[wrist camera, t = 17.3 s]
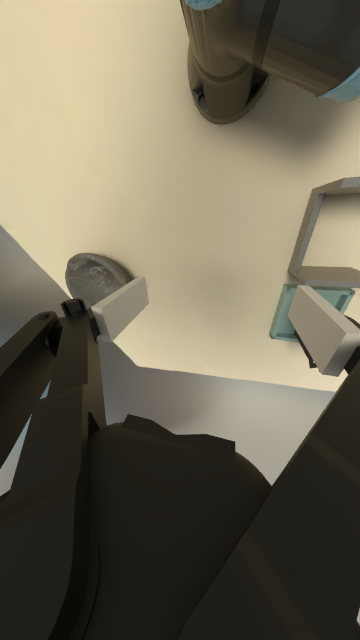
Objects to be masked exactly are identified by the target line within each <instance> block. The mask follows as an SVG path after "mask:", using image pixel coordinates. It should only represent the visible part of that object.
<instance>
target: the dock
mask: <svg viewBox="0 0 360 640" xmlns="http://www.w3.org/2000/svg"><path fill="white" fill-rule="evenodd" d="M352 193H360V177H351V178H343V179H340V180H337V181H334V182H331V183H328V184H326V185H323V186H320V187H317V188H314V189H312V193H311V196H310V199H309V203H308V206H307V209H306V213H305V216H304V219H303V223H302V226H301V229H300V232H299V236H298V239H297V242H296V246H295V249H294V252H293V256H292V259H291V262H290V265H289V269H288V271H289V272H290V273H291V274H292V275H293V276H295V277H296V278H297V279H298V280H299V281H300V282H301V283H302V284H303V285H309V286H326V287H346V288H360V271H358V270H356V269H353V268H350V267H312V266H301V265H302V262H303V259H304V256H305V253H306V250H307V247H308V244H309V241H310V238H311V235H312V232H313V229H314V226H315V223H316V220H317V217H318V214H319V211H320V208H321V205H322V202H323V199H324V197H325V195H335V194H352Z"/></svg>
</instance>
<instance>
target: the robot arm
mask: <svg viewBox="0 0 360 640" xmlns="http://www.w3.org/2000/svg"><path fill="white" fill-rule="evenodd" d="M180 3H181V7H182V11H183V15H184V19H185V23H186V27H187V31H188V35H189V39H190V40H189V49H188V77H189V84H190V88H191V92H192V95H193V98H194V101H195V104H196V106H197V108H198V109H199V111H200V112H201V114H202V115H203V116H204V117H205V118H206V119H208V120H209V121H211V122H214V123H217V124H226V123H230V122H233V121H235V120H237V119H239V118H240V117H242V116H243V115H244V114H246V113H247V112H248V111H249V110H250V109H251V108H252V106H253V105H254V104H255V103H256V101H257V100H258V99H259V97H260V95H261V94H262V92H263V90H264V88H265V86H266V84H267V82H268V80H269V77H270V75H271V74H272V75H274V76H276V77H279V78H281V79H283V80H285V81H287V82H290V83H292V84H294V85H296V86H299V87H301V88H303V89H305V90H307V91H310V92H312V93H314V95H315V97H317V98H328V99H331V100H334V101H337V102H340V103H343V102H349V101H352V100H354V99H356V98H358V97H359V96H360V0H180ZM147 304H148V295H147V288H146V281H145V277H137V278H136V279H134V280H132V281H131V282H129V283H128V284H126V285H125V286H123V287H122V288H120V289H118V290H117V291H115V292H114V293H112V294H111V295H109V296H108V297H106V298H105V299H103V300H101V301H100V302H98V303H97V304H95V305H94V306H92V307H91V308H89V309H86V306H85V303H84V301H83V299H81V298H76V299H70V300H67V301H64V302H63V303H61V307H62V309H63V311H64V313H65V317H62V318H58V316H57V314H56V313H55V312H53V311H49V312H43V313H40V314H38V315H36V316H34V317H33V318H32V319H31V320H30V321H29V322H28V323H27V324H25V325H24V326H23V327H22V328H21V329H20V330H19V331H18V332H17V333H16V334H15V335H14V336H12V337H11V338H10V339H9V340H8V341H7V342H6V343H5V344H4V345H2V346H1V347H0V468H1V467H2V465H3V464H4V462H5V460H6V459H7V457H8V455H9V454H10V452H11V450H12V448H13V447H14V445H15V443H16V441H17V439H18V437H19V436H20V434H21V432H22V430H23V428H24V427H25V425H26V423H27V421H28V419H29V418H30V416H31V414H32V416H31V419H30V423H29V426H28V430H27V434H26V436H25V440H24V444H23V447H22V451H21V454H20V457H19V461H18V464H17V468H16V471H15V475H14V478H13V482H12V485H11V489H10V490H9V491H7V492H6V493H5V494H3V495H2V496H0V640H360V625H359V623H358V622H357V616H358V612H359V608H360V324H359V323H358V322H356V321H355V320H354V319H352V318H350V317H348V316H346V315H343V314H341V313H340V312H339V311H338V310H337V309H336V308H335V307H333V306H332V305H331V304H330V303H329V302H328V301H326V300H325V299H324V298H323V297H322V296H321V295H319V294H318V293H317V292H316V291H315V290H314V289H312V288H311V287H310V286H309V285H298V286H297V289H296V292H295V294H294V297H293V300H292V303H291V306H290V309H289V312H288V315H287V316H288V317H289V319H290V321H291V323H292V324H293V326H294V328H295V329H296V331H297V333H298V335H299V336H300V338H301V340H302V341H303V343H304V345H305V347H306V348H307V350H308V352H309V353H310V355H311V357H312V358H313V360H314V362H315V364H316V365H317V367H318V369H319V370H320V372H321V374H324V375H330V376H337V377H338V376H339V375H340V373H341V372H342V371H343V369H345V370H346V372H347V373H348V374H349V375H348V376H347V377H346V379H345V380H344V382H343V383H342V384H341V386H340V387H339V389H338V391H337V392H336V394H335V395H334V396H333V398H332V399H331V401H330V402H329V404H328V405H327V407H326V408H325V410H324V411H323V412H322V414H321V415H320V417H319V418H318V420H317V421H316V423H315V424H314V426H313V427H312V429H311V430H310V431H309V433H308V435H307V436H306V438H305V439H304V440H303V442H302V443H301V445H300V446H299V448H298V449H297V451H296V452H295V454H294V455H293V456H292V458H291V460H290V461H289V462H288V464H287V465H286V467H285V468H284V470H283V471H282V472H281V474H280V475H279V477H278V478H277V479H276V481H275V482H274V484H273V485H272V486H271V485H270V483H269V482H268V481H267V480H266V479H265V477H264V476H263V474H262V473H261V472H259V470H258V469H257V468H256V467H255V466H254V465H253V464H252V463H251V462H250V461H249V460H247V459H246V458H245V457H243V456H242V455H240V454H239V453H237V452H235V442H234V441H230V440H226V439H223V438H219V437H215V436H210V435H207V434H195V435H193V434H192V435H175V434H173V433H171V432H170V431H168V430H167V429H165V428H163V427H162V426H160V425H159V424H157V423H155V422H154V421H152V420H149V419H145V418H142V417H138V416H134V415H130V414H128V415H127V417H126V419H125V421H124V422H120V423H115V424H112V425H108V426H107V424H106V417H105V406H104V396H103V386H102V376H101V365H100V355H99V345H98V340H97V336H98V335H101V338H102V340H103V341H109V342H112V341H113V340H114V339H115V338H116V337H117V336H118V335H119V334H120V333H121V332H122V331H123V330H124V329H125V327H126V326H127V325H128V324H129V323H130V322H131V321H132V320H133V319H134V318H135V317H136V316H137V315H138V314H139V313H140V312H141V311H142V310H143V309H144V308H145V306H146V305H147ZM50 380H51V382H50ZM49 382H50V386H49V390H48V395H47V397H46V398H42V399H40V398H41V396H42V394H43V392H44V391H45V389H46V387H47V385H48V383H49Z"/></svg>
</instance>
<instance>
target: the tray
mask: <svg viewBox="0 0 360 640" xmlns="http://www.w3.org/2000/svg"><path fill="white" fill-rule="evenodd" d="M297 286H298V285H292V284H284V287H283V290H282V293H281V296H280V300H279V303H278V306H277V310H276V313H275V316H274V319H273V323H272V326H271V329H270V333H269V334H270V337H271V339H277V340H285V341H294V342H299V341H298V339H297V337H296V336H294V335H293V334H294V331H295V328H294V326H293V324H292V323H291V321H290V319H289V317H288V316H287V315H288V312H289V309H290V306H291V303H292V300H293V297H294V294H295V292H296V289H297ZM310 287H311V288H312V289H314V290H315V291H316V292H317V293H318V294H319V295H321V296H322V297H323V298H324V299H325V300H326V301H328V302H329V303H330V304H331V305H332V306H333V307H335V308H336V309H337V310H338V311H339V312H340V313H341V314H344V312H345V310H346V308H347V306H348V305H349V303H350V301H351V299H352V297H353V295H354V294H355V291H354V290H352V289H350V288H346V287H326V286H310Z"/></svg>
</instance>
